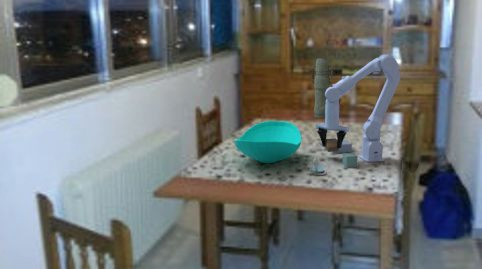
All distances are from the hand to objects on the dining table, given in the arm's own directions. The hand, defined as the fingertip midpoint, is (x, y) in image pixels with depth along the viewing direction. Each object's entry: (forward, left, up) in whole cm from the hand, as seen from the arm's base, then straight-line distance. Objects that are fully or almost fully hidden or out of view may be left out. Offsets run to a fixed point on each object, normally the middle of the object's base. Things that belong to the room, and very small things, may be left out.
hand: (331, 146), depth 224 cm
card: (+22, -6, -5) cm, 23 cm away
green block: (-12, -4, -5) cm, 14 cm away
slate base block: (+12, -7, -5) cm, 15 cm away
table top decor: (+2, +27, -5) cm, 28 cm away
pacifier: (-19, +11, -5) cm, 23 cm away
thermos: (+85, -21, -5) cm, 88 cm away
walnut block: (0, 0, -2) cm, 2 cm away
